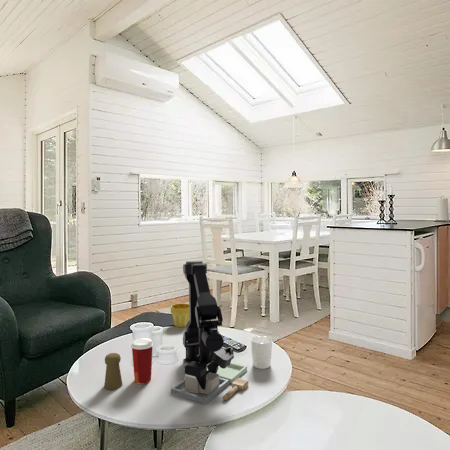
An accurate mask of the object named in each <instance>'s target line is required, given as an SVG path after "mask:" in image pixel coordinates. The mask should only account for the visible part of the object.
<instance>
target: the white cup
mask: <svg viewBox="0 0 450 450" xmlns="http://www.w3.org/2000/svg"><path fill="white" fill-rule="evenodd" d="M272 339H273V338H271V337H269V336H265V335H258V336H256V335H255V336H253V337H252V338H251V341H250V342H251V356H252V366H253V367H254V368H256V369H260V370H261V369H262V370H264V369H268V368H269V367H271V365H272V364H271V363H272V362H271V359H272V349H273V340H272Z"/></svg>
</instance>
